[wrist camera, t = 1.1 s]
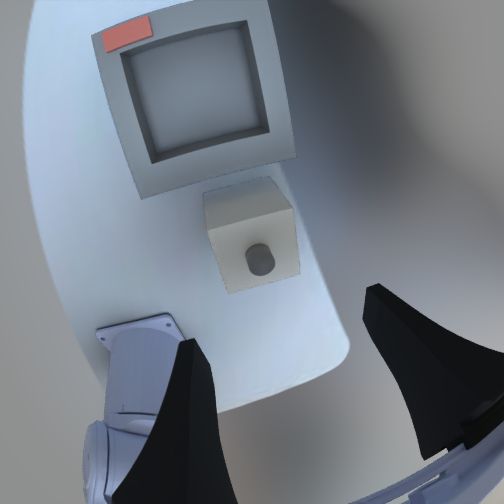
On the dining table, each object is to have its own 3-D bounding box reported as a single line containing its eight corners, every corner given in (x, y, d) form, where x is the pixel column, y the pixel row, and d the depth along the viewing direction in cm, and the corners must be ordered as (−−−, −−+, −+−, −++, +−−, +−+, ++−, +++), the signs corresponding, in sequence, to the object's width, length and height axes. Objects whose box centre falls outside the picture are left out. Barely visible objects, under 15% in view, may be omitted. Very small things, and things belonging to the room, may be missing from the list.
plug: (278, 232, 21) (306, 284, 16) (219, 248, 21) (230, 306, 16) (268, 176, 18) (299, 216, 13) (202, 193, 18) (207, 241, 13)
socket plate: (283, 147, 17) (299, 160, 15) (147, 184, 17) (139, 203, 14) (254, 2, 11) (266, -13, 9) (104, 41, 11) (87, 34, 9)
